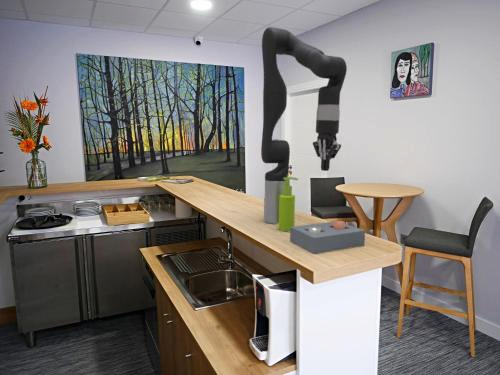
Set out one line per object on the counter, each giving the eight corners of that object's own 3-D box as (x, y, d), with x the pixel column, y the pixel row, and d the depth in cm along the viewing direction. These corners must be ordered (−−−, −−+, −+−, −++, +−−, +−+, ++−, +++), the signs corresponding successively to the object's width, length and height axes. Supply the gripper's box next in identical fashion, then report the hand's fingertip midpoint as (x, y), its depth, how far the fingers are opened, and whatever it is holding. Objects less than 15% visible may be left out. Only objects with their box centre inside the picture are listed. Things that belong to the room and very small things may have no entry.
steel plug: (305, 241, 123) (306, 227, 122) (315, 240, 125) (316, 225, 124) (312, 245, 120) (313, 230, 119) (322, 243, 121) (323, 228, 120)
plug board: (289, 241, 126) (290, 227, 126) (337, 234, 135) (337, 221, 134) (313, 253, 114) (314, 237, 113) (364, 245, 122) (365, 230, 122)
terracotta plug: (330, 235, 127) (330, 221, 126) (339, 234, 129) (340, 220, 128) (337, 238, 124) (338, 224, 123) (347, 237, 125) (347, 222, 125)
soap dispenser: (296, 232, 137) (297, 178, 134) (277, 231, 139) (278, 178, 136) (297, 228, 143) (298, 176, 140) (279, 227, 144) (280, 176, 141)
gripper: (306, 118, 128) (304, 168, 131) (331, 119, 116) (328, 173, 120) (324, 118, 131) (322, 167, 135) (350, 119, 120) (346, 172, 123)
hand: (324, 170), depth 127 cm, fingers closed
